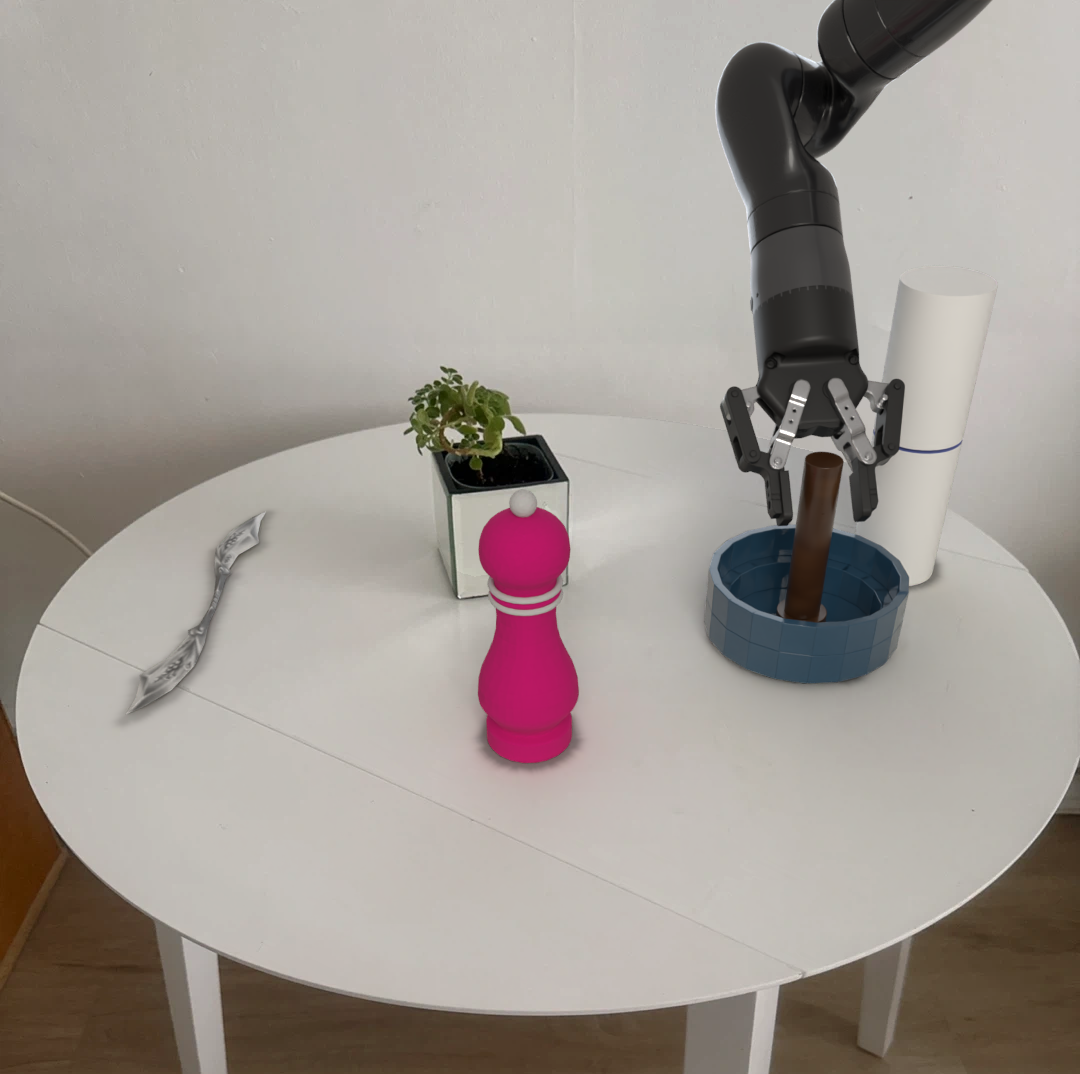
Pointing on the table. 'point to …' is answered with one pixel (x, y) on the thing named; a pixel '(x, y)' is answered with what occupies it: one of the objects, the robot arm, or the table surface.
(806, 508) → the brown flanged cylinder
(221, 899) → the table surface
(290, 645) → the table surface
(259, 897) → the table surface
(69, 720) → the table surface
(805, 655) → the bowl
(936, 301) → the cylindrical container
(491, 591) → the pepper mill
